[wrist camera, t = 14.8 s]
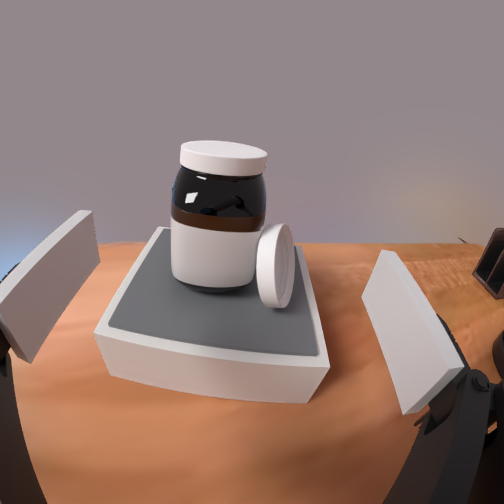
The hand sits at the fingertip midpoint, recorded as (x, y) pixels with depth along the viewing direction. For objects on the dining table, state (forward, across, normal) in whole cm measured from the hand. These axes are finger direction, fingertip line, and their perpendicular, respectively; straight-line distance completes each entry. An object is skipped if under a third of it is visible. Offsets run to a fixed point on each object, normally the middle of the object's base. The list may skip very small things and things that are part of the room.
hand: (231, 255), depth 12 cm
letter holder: (+28, +66, -17) cm, 73 cm away
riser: (+11, -1, -16) cm, 19 cm away
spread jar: (+11, 0, -10) cm, 15 cm away
